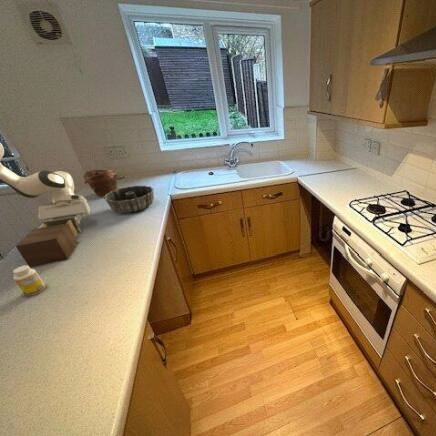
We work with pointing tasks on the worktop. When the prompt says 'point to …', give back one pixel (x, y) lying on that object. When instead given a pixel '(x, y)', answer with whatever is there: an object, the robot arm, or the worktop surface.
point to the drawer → (70, 221)
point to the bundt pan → (130, 198)
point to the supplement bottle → (28, 280)
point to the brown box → (47, 245)
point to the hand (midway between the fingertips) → (66, 225)
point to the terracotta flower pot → (101, 181)
